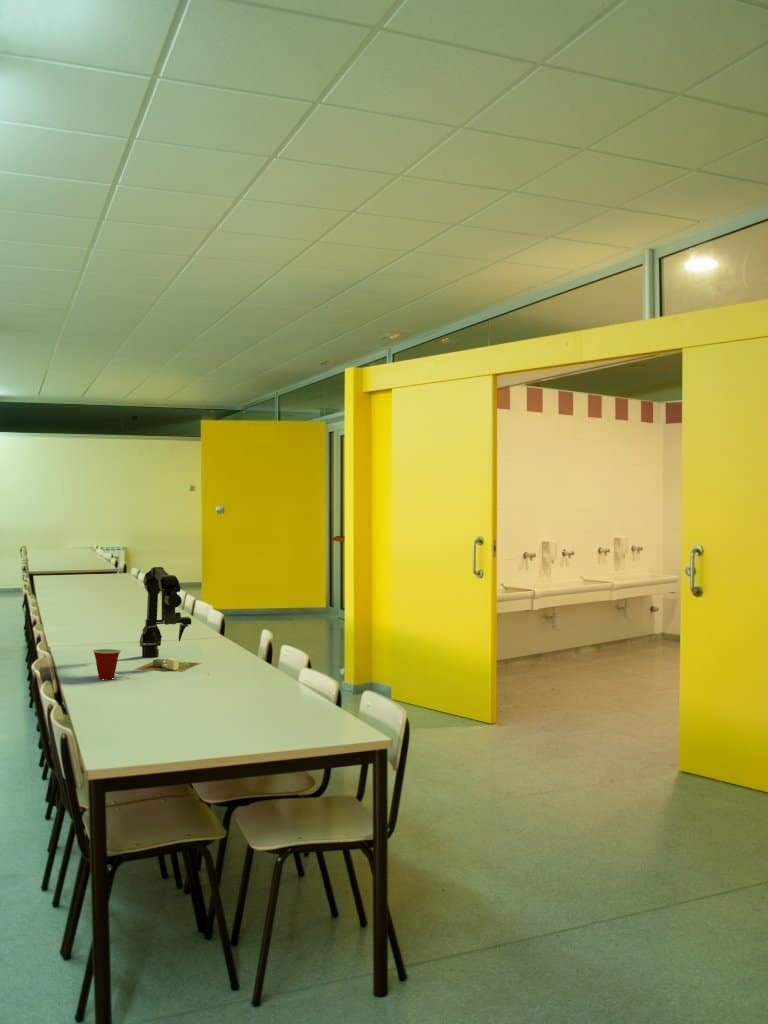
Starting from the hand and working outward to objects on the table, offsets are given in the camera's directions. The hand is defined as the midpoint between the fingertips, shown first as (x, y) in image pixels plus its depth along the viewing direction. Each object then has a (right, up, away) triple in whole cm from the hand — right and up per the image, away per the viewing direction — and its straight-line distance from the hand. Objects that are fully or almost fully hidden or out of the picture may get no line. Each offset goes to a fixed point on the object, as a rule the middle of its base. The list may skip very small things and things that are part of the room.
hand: (168, 641), depth 368 cm
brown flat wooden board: (-2, -13, +6) cm, 14 cm away
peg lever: (-2, -11, +2) cm, 12 cm away
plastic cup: (-21, -13, -15) cm, 29 cm away
